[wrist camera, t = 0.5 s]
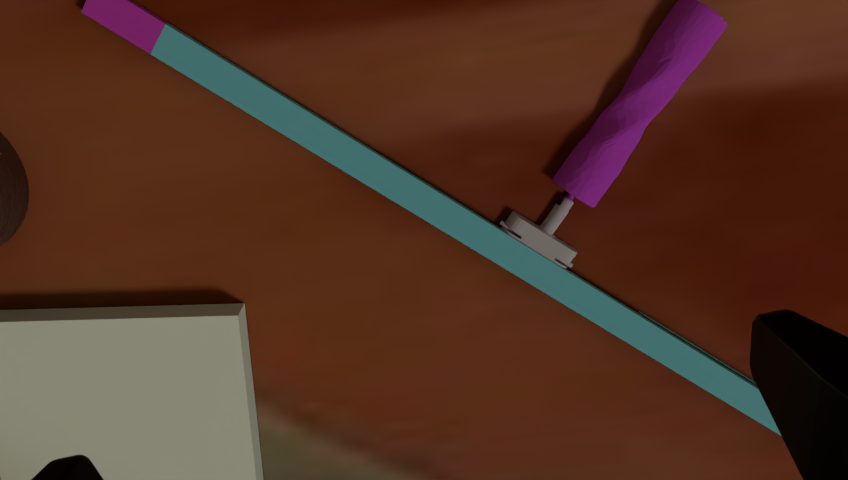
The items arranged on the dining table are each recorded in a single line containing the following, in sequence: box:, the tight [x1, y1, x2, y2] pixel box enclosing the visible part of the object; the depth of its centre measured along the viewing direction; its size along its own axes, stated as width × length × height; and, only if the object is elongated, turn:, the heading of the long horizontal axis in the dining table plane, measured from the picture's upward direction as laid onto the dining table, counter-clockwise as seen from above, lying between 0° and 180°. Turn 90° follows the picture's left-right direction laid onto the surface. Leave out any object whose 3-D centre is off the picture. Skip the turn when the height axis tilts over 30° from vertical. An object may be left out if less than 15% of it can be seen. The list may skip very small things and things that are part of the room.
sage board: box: [0, 303, 263, 480], centre depth 24 cm, size 9×9×1 cm
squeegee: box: [81, 0, 781, 435], centre depth 22 cm, size 29×2×10 cm
